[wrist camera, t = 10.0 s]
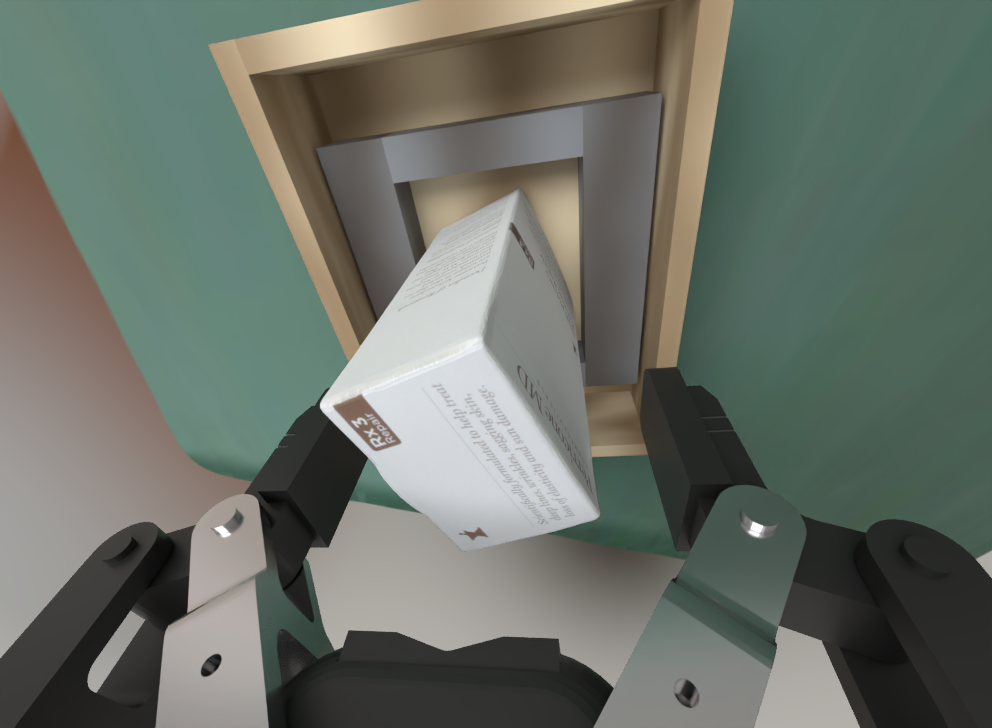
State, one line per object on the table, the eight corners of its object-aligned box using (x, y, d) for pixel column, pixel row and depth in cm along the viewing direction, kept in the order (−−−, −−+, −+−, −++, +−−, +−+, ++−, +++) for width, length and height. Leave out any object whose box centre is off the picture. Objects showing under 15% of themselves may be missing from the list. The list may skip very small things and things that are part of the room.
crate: (678, -24, 13) (744, -67, 9) (639, 389, 24) (662, 454, 20) (294, 52, 15) (208, 44, 11) (415, 403, 25) (394, 464, 21)
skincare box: (575, 297, 19) (622, 527, 9) (495, 332, 21) (464, 561, 11) (518, 176, 16) (500, 331, 6) (429, 227, 18) (305, 416, 8)
